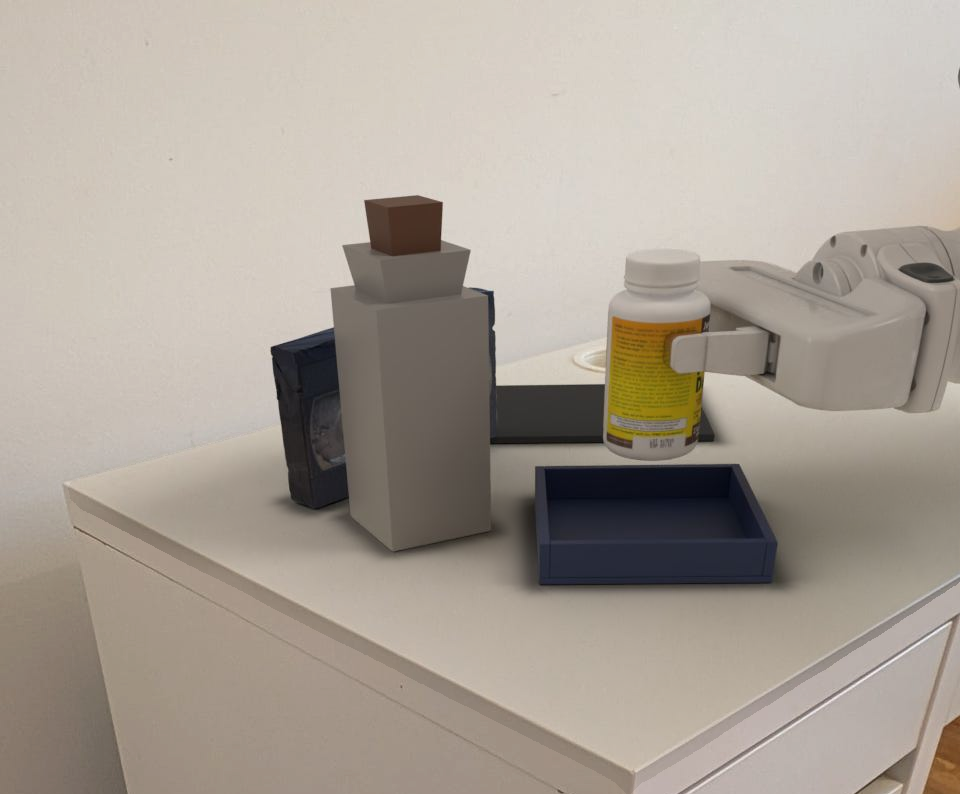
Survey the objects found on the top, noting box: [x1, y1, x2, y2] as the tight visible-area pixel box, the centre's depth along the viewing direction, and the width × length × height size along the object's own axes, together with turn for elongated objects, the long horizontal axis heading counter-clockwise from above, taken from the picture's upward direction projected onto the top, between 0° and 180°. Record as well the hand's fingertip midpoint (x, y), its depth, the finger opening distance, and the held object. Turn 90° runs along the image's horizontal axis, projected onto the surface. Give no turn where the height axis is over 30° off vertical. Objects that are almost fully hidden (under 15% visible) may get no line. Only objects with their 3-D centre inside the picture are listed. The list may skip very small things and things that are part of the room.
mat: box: [490, 383, 716, 444], centre depth 90 cm, size 18×14×1 cm
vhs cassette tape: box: [270, 286, 497, 509], centre depth 77 cm, size 18×3×10 cm, turn 136°
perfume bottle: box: [330, 194, 492, 552], centre depth 67 cm, size 7×7×18 cm
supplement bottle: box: [603, 248, 711, 462], centre depth 64 cm, size 6×6×10 cm
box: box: [534, 463, 779, 585], centre depth 69 cm, size 13×13×2 cm
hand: (642, 338), depth 63 cm, fingers closed on supplement bottle, 5 cm apart
